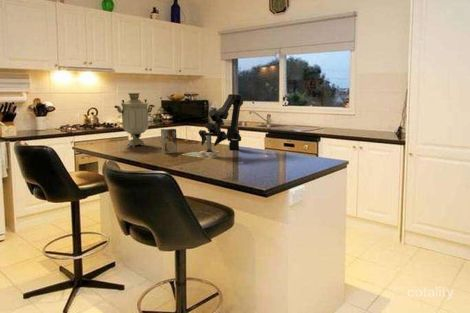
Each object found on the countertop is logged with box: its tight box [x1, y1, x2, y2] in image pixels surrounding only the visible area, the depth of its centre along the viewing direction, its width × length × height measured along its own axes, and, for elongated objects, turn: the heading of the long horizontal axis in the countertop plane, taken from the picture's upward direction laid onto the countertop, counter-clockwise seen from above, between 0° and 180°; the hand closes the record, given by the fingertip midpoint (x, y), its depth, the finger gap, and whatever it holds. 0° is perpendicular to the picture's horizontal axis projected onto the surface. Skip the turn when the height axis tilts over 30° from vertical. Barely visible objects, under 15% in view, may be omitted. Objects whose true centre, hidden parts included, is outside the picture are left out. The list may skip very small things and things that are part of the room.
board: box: [181, 149, 222, 159], centre depth 256 cm, size 26×12×4 cm, turn 51°
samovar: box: [113, 92, 156, 148], centre depth 307 cm, size 30×26×40 cm
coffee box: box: [160, 128, 178, 154], centre depth 273 cm, size 9×6×16 cm
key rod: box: [205, 135, 213, 152], centre depth 251 cm, size 3×3×13 cm
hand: (208, 145), depth 251 cm, fingers open, 9 cm apart
